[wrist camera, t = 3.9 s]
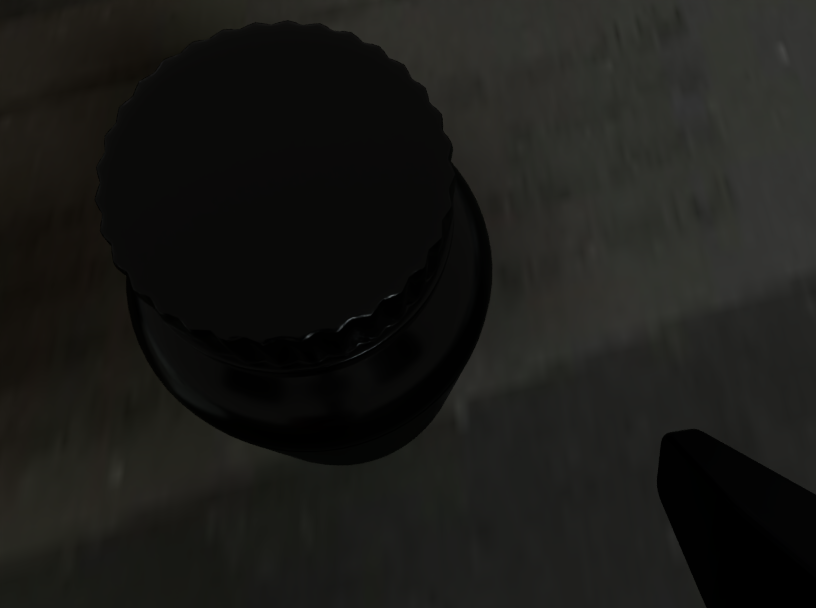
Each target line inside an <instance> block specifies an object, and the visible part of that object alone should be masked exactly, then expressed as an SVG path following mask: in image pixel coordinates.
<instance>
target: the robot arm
mask: <svg viewBox="0 0 816 608" xmlns="http://www.w3.org/2000/svg"><path fill="white" fill-rule="evenodd" d="M657 488H658V493H659V497H660V500H661V502H662V505H663V507H664V509H665V512H666V514H667V516H668V519H669V521H670V523H671V526H672V528H673V531H674V533H675V535H676V538H677V540H678V542H679V545H680V547H681V549H682V552H683V554H684V556H685V559H686V561H687V564H688V566H689V568H690V571H691V573H692V575H693V578H694V580H695V582H696V585H697V587H698V589H699V592H700V594H701V596H702V599H703V601H704V603H705V605H706V607H707V608H816V495H815V494H814V493H812V492H810V491H808V490H806V489H805V488H803V487H801V486H799V485H797V484H796V483H794V482H792V481H790V480H789V479H787V478H785V477H783V476H781V475H780V474H778V473H776V472H774V471H772V470H771V469H769V468H767V467H765V466H763V465H762V464H760V463H758V462H756V461H754V460H753V459H751V458H749V457H747V456H746V455H744V454H742V453H740V452H738V451H737V450H735V449H733V448H731V447H729V446H728V445H726V444H724V443H722V442H720V441H719V440H717V439H715V438H713V437H712V436H710V435H708V434H706V433H704V432H702V431H700V430H697V429H688V430H681V431H675V432H669V433H667V434H665V435H664V436H663V438H662V441H661V447H660V456H659V466H658V475H657Z"/></svg>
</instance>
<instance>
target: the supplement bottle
mask: <svg viewBox="0 0 816 608" xmlns="http://www.w3.org/2000/svg"><path fill="white" fill-rule="evenodd" d="M104 145H105V153H104V155H103V156H102V158H101V159H100V161H99V163H98V165H97V167H96V169H97V174H98V177H99V181H100V184H99V187H98V190H97V193H96V196H95V202H96V204H97V206H98V208H99V210H100V211H101V213H102V221H101V229H100V232H101V234H102V236H103V237H104V238H105V240H106V241H107V242H108V243H109V244H110V245H111V248H112V257H113V263H114V265H115V266H116V268H117V269H118V270H119V271H121V272H122V273H123V274H124V275H126V293H127V301H128V308H129V313H130V317H131V322H132V326H133V329H134V332H135V334H136V337H137V340H138V343H139V345H140V347H141V349H142V351H143V353H144V355H145V357H146V359H147V361H148V363H149V365H150V366H151V368H152V369H153V371H154V373H155V374H156V376H157V377H158V378H159V380H160V381H161V382H162V383H163V385H164V386H165V387H166V388H167V390H168V391H169V392H170V393H171V394H172V395H173V396H174V397H175V398H176V399H177V400H178V401H179V402H180V403H181V404H182V405H184V406H185V407H186V408H187V409H189V410H190V411H191V412H192V413H193V414H195V415H196V416H198V417H199V418H201V419H202V420H204V421H205V422H207V423H208V424H210V425H211V426H213V427H215V428H216V429H218V430H220V431H222V432H224V433H226V434H228V435H230V436H232V437H235V438H237V439H240V440H242V441H245V442H248V443H250V444H253V445H256V446H259V447H262V448H266V449H269V450H272V451H275V452H278V453H282V454H285V455H288V456H291V457H294V458H298V459H301V460H305V461H308V462H312V463H319V464H325V465H354V464H361V463H365V462H370V461H373V460H376V459H379V458H382V457H385V456H387V455H389V454H391V453H393V452H395V451H397V450H399V449H400V448H402V447H404V446H405V445H407V444H408V443H409V442H411V441H412V440H413V439H415V438H416V437H417V436H418V435H419V434H420V433H421V432H422V431H423V430H424V429H425V428H426V427H427V426H428V425H429V424H430V423H431V421H432V420H433V419H434V418H435V416H436V415H437V414H438V412H439V411H440V409H441V408H442V406H443V404H444V403H445V401H446V399H447V397H448V396H449V394H450V392H451V390H452V389H453V387H454V385H455V383H456V381H457V380H458V378H459V376H460V374H461V373H462V371H463V369H464V367H465V365H466V364H467V362H468V360H469V358H470V356H471V354H472V352H473V350H474V348H475V346H476V344H477V341H478V339H479V336H480V333H481V330H482V328H483V325H484V322H485V318H486V314H487V309H488V305H489V301H490V294H491V286H492V256H491V247H490V242H489V236H488V232H487V228H486V225H485V222H484V218H483V215H482V213H481V210H480V208H479V205H478V203H477V200H476V198H475V197H474V195H473V193H472V191H471V189H470V187H469V185H468V184H467V182H466V181H465V179H464V178H463V176H462V175H461V173H460V172H459V171H458V170H457V168H456V167H455V166H454V165H453V164H452V162H451V159H452V152H453V147H452V143H451V141H450V140H449V138H448V136H447V135H446V134H445V133H444V132H443V118H442V114H441V113H440V112H439V111H438V110H437V109H436V108H435V107H434V106H432V104H431V103H430V102H429V98H428V94H427V90H426V88H425V87H424V86H423V85H421V84H420V83H418V82H416V81H414V80H413V79H412V78H411V76H410V74H409V72H408V70H407V68H406V67H405V65H404V64H402V63H400V62H398V61H395V60H393V59H390V58H388V56H387V55H386V53H385V52H384V51H383V50H382V49H381V47H380V46H377V45H374V44H368V43H364V42H362V41H361V40H360V39H359V38H358V37H357V36H356V35H354V34H353V33H352V32H346V31H333V30H331V29H329V28H328V27H327V26H325V25H322V24H320V23H318V24H308V25H300V24H298V23H296V22H292V21H288V20H287V21H283V22H279V23H275V24H272V25H270V24H264V23H256V22H255V23H252V24H250V25H247V26H245V27H243V28H241V29H236V30H233V29H226V30H221V31H220V32H218V33H217V34H215V35H214V36H212V37H211V38H209V39H206V40H199V41H195V42H192V43H190V44H189V45H188V46H187V47H186V48H185V49H184V50H183V51H182V52H181V53H180V54H177V55H175V56H171V57H169V58H166V59H164V60H163V61H162V62H161V64H160V65H159V67H158V68H157V70H156V71H155V73H153V74H151V75H149V76H147V77H146V78H144V79H142V80H141V81H139V83H138V85H137V87H136V89H135V92H134V94H133V96H132V97H131V98H130V99H129V100H127V101H126V102H125V103H123V104H122V105H121V106H120V107H119V110H118V114H117V120H116V123H115V125H114V126H113V127H112V128H111V129H110V130H109V131H108V133H107V134H106V135H105V141H104Z"/></svg>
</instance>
